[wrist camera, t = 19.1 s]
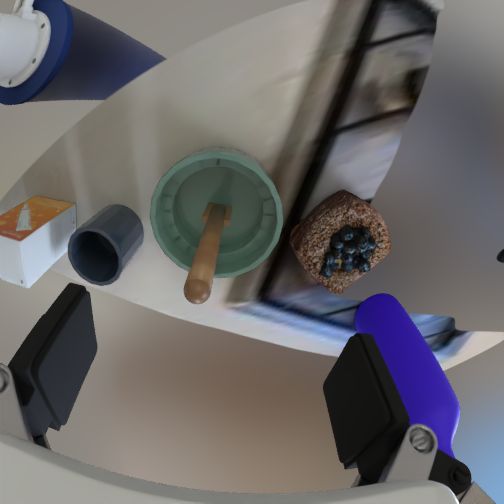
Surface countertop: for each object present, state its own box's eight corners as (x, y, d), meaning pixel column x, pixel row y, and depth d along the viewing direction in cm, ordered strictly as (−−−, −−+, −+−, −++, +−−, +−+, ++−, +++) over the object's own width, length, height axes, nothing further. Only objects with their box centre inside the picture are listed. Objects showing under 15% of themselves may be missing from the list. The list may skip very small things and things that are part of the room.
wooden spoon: (208, 197, 35) (173, 282, 18) (233, 202, 35) (220, 291, 18) (206, 211, 36) (171, 305, 19) (230, 216, 36) (216, 313, 19)
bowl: (171, 138, 32) (158, 142, 27) (290, 160, 34) (297, 168, 29) (158, 245, 38) (146, 265, 33) (263, 264, 40) (265, 287, 35)
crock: (96, 200, 35) (65, 222, 28) (145, 209, 36) (122, 233, 29) (96, 249, 38) (70, 278, 31) (142, 259, 39) (122, 291, 32)
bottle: (349, 300, 43) (424, 486, 16) (397, 284, 42) (497, 446, 15) (354, 337, 46) (411, 501, 19) (399, 322, 45) (474, 471, 18)
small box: (77, 202, 35) (20, 241, 23) (77, 243, 38) (28, 291, 26) (35, 194, 34) (-22, 228, 22) (37, 232, 37) (-14, 274, 25)
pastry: (278, 239, 38) (283, 260, 33) (348, 176, 34) (365, 188, 29) (329, 288, 42) (339, 313, 36) (392, 235, 38) (411, 254, 33)
